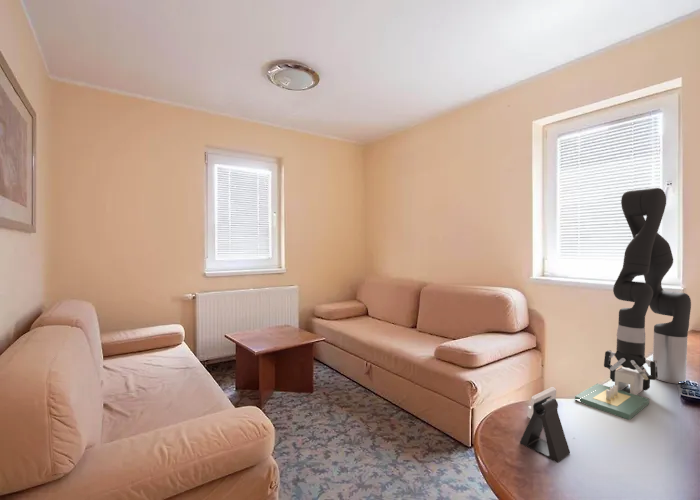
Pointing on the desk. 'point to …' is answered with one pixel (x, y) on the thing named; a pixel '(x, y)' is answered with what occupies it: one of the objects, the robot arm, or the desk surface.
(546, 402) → the phone stand
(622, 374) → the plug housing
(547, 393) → the white wedge bracket
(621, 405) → the header board
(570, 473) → the desk surface
